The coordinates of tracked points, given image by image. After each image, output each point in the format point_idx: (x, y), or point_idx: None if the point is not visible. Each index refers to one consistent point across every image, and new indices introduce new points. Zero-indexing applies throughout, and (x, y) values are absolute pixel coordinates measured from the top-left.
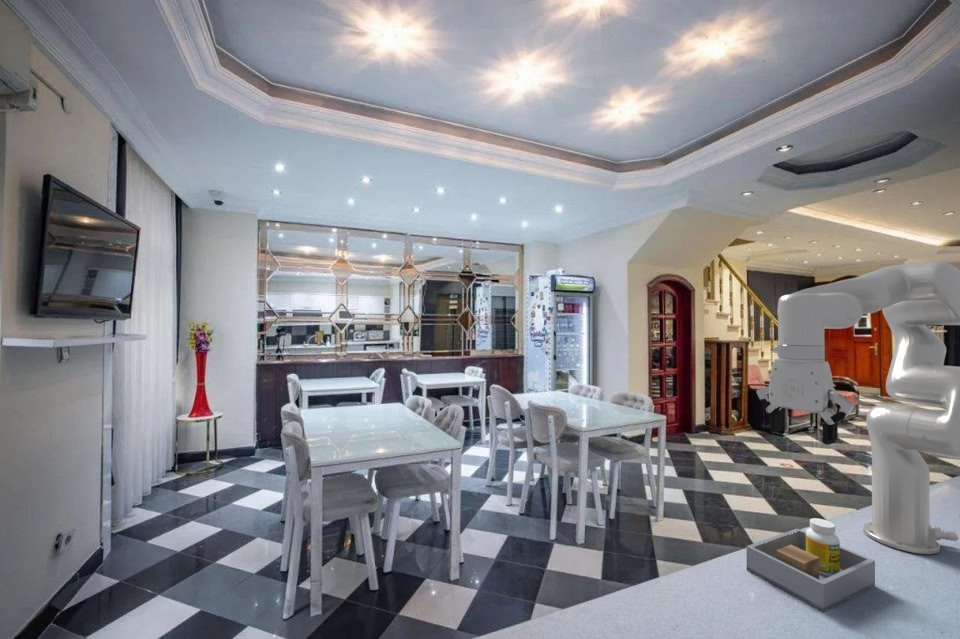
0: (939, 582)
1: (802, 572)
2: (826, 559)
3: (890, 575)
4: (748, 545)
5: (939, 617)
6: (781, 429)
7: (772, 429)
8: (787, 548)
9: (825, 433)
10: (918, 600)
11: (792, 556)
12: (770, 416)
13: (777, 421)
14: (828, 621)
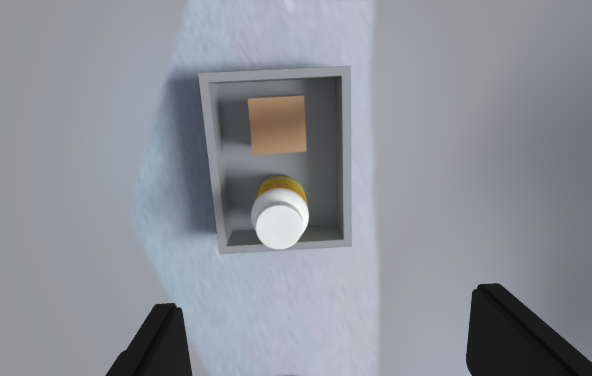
0: (201, 333)
1: (239, 77)
2: (262, 187)
3: (237, 289)
4: (350, 73)
5: (149, 235)
6: (470, 363)
7: (490, 289)
8: (299, 127)
9: (131, 349)
10: (183, 254)
11: (274, 104)
12: (583, 358)
13: (513, 373)
14: (193, 60)
